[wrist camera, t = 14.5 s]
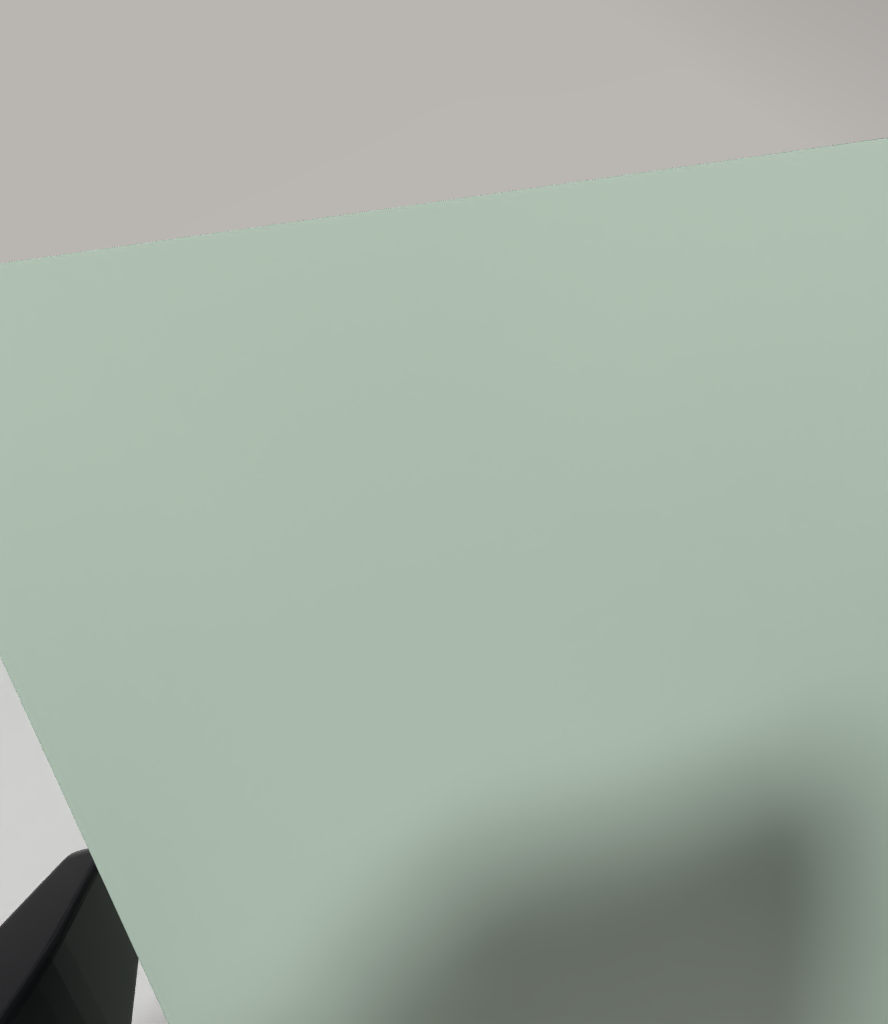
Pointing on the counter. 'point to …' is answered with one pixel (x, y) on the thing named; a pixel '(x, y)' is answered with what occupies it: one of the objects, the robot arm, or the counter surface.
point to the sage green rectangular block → (472, 598)
